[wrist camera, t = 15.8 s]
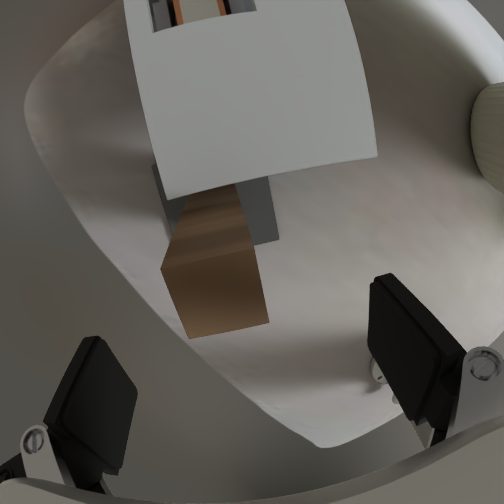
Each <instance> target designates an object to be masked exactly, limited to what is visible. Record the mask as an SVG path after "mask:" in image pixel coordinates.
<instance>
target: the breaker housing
mask: <svg viewBox="0 0 504 504" xmlns="http://www.w3.org/2000/svg"><path fill="white" fill-rule="evenodd" d="M123 1H124V8H125V16H126V22H127V29H128V35H129V41H130V47H131V52H132V58H133V63H134V68H135V73H136V78H137V83H138V88H139V93H140V97H141V102H142V106H143V110H144V115H145V119H146V123H147V127H148V131H149V135H150V139H151V143H152V147H153V151H154V155H155V158H156V162H157V166H158V169H159V173H160V177H161V180H162V184H163V187H164V191H165V194H166V197H167V200H170V199H174V198H178V197H181V196H185V195H189V194H192V193H196V192H200V191H204V190H208V189H212V188H216V187H220V186H224V185H228V184H232V183H237V182H241V181H245V180H250V179H254V178H259V177H264V176H268V175H273V174H278V173H283V172H288V171H293V170H298V169H304V168H309V167H315V166H321V165H326V164H332V163H339V162H345V161H352V160H358V159H365V158H373V157H378V155H377V146H376V138H375V130H374V123H373V116H372V110H371V104H370V98H369V93H368V87H367V82H366V78H365V73H364V68H363V64H362V60H361V55H360V51H359V47H358V44H357V40H356V36H355V33H354V29H353V26H352V22H351V19H350V16H349V13H348V10H347V7H346V4H345V1H344V0H223V3H224V7H225V11H226V15H224V16H219V17H213V18H208V19H203V20H199V21H194V22H190V23H186V24H182V25H178V24H177V19H176V14H175V9H174V4H173V0H123Z"/></svg>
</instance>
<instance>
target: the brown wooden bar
mask: <svg viewBox="0 0 504 504" xmlns="http://www.w3.org/2000/svg"><path fill="white" fill-rule="evenodd" d="M160 269H161V272H162V275H163V277H164V280H165V283H166V285H167V288H168V290H169V293H170V295H171V298H172V300H173V303H174V305H175V308H176V310H177V313H178V315H179V317H180V320H181V322H182V324H183V327H184V329H185V331H186V334H187V336H188V338H189V339H192V338H197V337H203V336H208V335H214V334H219V333H224V332H229V331H234V330H239V329H244V328H248V327H253V326H257V325H262V324H266V323H269V318H268V313H267V309H266V304H265V299H264V294H263V289H262V284H261V279H260V274H259V270H258V265H257V260H256V255H255V250H254V246H253V243H252V240H251V236H250V233H249V230H248V226H247V223H246V220H245V216H244V213H243V210H242V206H241V203H240V200H239V196H238V193H237V190H236V186H235V183H232V184H228V185H224V186H220V187H216V188H212V189H208V190H204V191H200V192H196V193H192V194H190V195H189V197H188V199H187V202H186V204H185V207H184V209H183V211H182V214H181V216H180V219H179V221H178V224H177V226H176V229H175V231H174V234H173V236H172V239H171V242H170V244H169V247H168V249H167V252H166V255H165V257H164V260H163V263H162V266H161V268H160Z"/></svg>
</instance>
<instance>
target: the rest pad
mask: <svg viewBox="0 0 504 504" xmlns="http://www.w3.org/2000/svg"><path fill="white" fill-rule="evenodd" d="M152 169H153V173H154V176H155V180H156V183H157V187H158V190H159V194H160V197H161V200H162V203H163V207H164V210H165V213H166V216H167V220H168V223H169V226H170V229H171V232H172V235H173V234H174V231H175V229H176V226H177V224H178V221H179V219H180V216H181V214H182V211H183V209H184V207H185V204H186V202H187V199H188V197H189V195H190V194H189V195H185V196H181V197H178V198H174V199H170V200H167V197H166V194H165V191H164V187H163V184H162V180H161V177H160V173H159V169H158V166H157V164H156V165H153V166H152ZM235 186H236V190H237V193H238V196H239V200H240V203H241V206H242V210H243V213H244V216H245V220H246V223H247V226H248V230H249V233H250V236H251V240H252V243H253V246H254V245H258V244H262V243H267V242H271V241H275V240H279V234H278V229H277V223H276V218H275V213H274V207H273V202H272V197H271V192H270V187H269V181H268V176H264V177H259V178H254V179H250V180H245V181H241V182H237V183H235Z"/></svg>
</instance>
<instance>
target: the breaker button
mask: <svg viewBox="0 0 504 504" xmlns="http://www.w3.org/2000/svg"><path fill="white" fill-rule="evenodd" d="M173 4H174V9H175V14H176V19H177V24H178V25H182V24H186V23H190V22H194V21H199V20H203V19H208V18H213V17H219V16H224V15H226V11H225V7H224V3H223V0H173Z"/></svg>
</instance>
